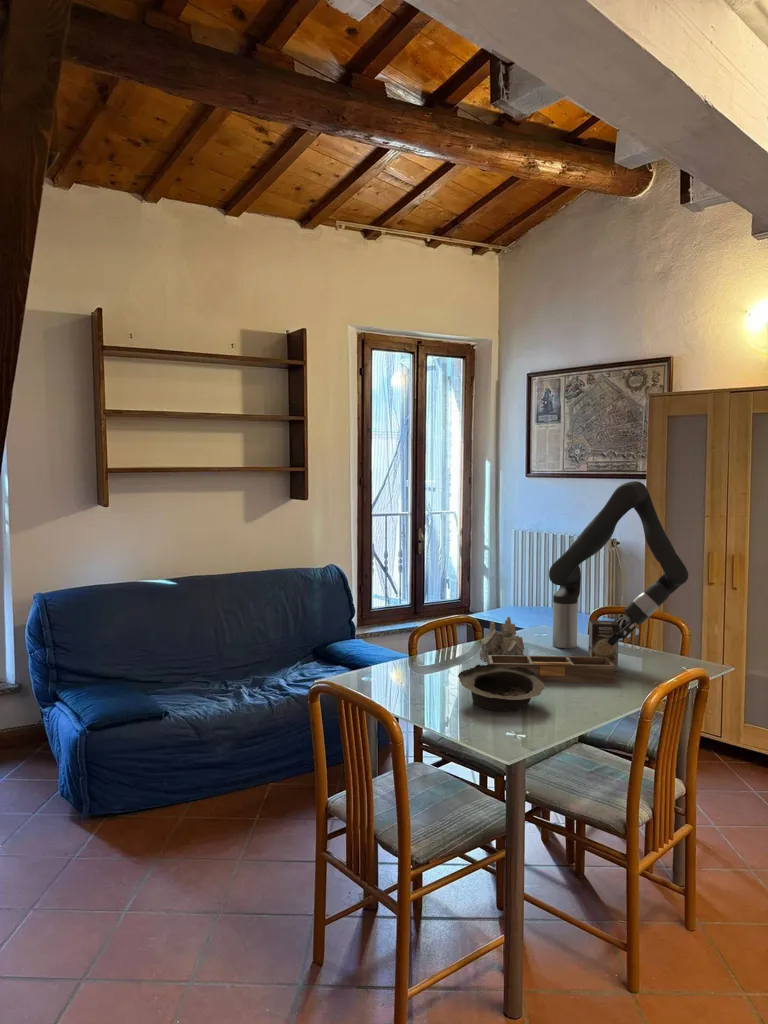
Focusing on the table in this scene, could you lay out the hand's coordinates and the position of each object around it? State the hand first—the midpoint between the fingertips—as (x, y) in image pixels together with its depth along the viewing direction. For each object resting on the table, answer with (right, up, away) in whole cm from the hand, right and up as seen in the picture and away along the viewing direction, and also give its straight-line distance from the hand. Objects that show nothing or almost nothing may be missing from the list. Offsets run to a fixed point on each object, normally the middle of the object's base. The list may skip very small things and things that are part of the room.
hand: (606, 640), depth 252 cm
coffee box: (-1, -10, +1) cm, 10 cm away
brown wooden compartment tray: (-22, -10, -10) cm, 26 cm away
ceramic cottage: (-34, -9, +13) cm, 38 cm away
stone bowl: (-42, -12, -37) cm, 58 cm away
